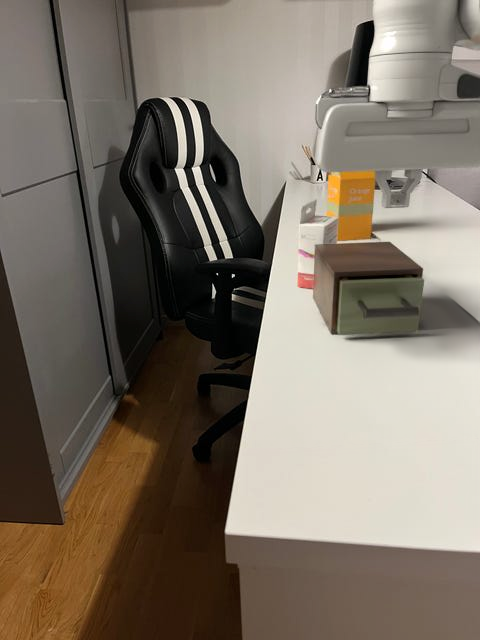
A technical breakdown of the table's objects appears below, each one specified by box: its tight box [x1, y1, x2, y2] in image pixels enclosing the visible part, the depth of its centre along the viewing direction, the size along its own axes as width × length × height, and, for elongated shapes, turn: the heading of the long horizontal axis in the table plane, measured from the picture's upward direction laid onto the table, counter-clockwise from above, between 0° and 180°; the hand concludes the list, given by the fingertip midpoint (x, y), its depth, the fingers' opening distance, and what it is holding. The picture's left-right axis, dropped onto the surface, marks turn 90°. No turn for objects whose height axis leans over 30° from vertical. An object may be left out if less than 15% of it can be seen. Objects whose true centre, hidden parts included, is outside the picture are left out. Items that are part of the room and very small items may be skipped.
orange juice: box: [326, 171, 376, 242], centre depth 120 cm, size 8×9×20 cm
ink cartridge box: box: [297, 199, 339, 290], centre depth 91 cm, size 9×5×15 cm, turn 154°
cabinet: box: [312, 241, 424, 335], centre depth 78 cm, size 15×13×10 cm
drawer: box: [337, 274, 425, 336], centre depth 74 cm, size 18×11×8 cm, turn 3°
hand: (394, 207), depth 62 cm, fingers closed
